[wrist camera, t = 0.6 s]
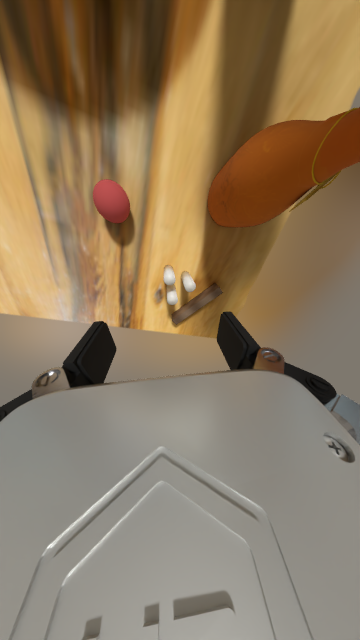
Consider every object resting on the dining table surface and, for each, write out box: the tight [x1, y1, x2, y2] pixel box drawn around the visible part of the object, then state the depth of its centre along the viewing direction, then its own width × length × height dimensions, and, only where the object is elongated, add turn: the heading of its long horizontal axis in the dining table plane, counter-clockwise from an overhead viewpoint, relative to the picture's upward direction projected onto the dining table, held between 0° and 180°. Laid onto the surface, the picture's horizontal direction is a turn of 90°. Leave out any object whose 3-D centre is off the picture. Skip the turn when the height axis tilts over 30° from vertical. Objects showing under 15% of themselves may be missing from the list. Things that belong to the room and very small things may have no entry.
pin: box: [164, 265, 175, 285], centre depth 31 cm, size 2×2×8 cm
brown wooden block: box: [172, 283, 223, 325], centre depth 39 cm, size 16×2×4 cm, turn 128°
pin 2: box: [181, 271, 196, 292], centre depth 33 cm, size 2×2×8 cm
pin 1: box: [167, 284, 178, 305], centre depth 34 cm, size 2×2×8 cm
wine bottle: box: [208, 107, 360, 227], centre depth 16 cm, size 10×10×30 cm
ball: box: [93, 179, 130, 223], centre depth 25 cm, size 6×6×6 cm
